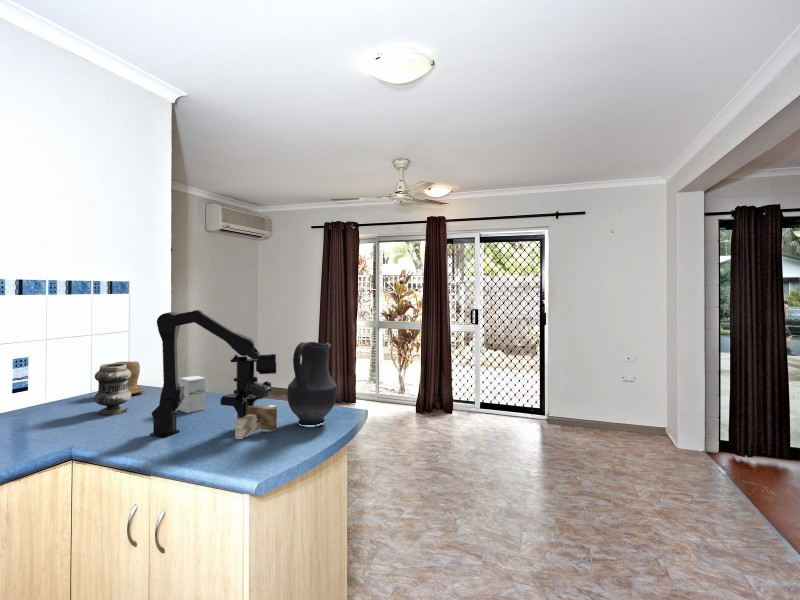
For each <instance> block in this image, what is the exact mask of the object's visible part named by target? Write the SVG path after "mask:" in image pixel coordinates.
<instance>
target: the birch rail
mask: <svg viewBox="0 0 800 600" xmlns="http://www.w3.org/2000/svg"><path fill="white" fill-rule="evenodd" d="M266 407H271V408H277V405H275V404H274V405H273V404H270V405H268V406H266ZM259 429H261V419H257V415H256V414H249V415H247V416H244V417H242V418H240V419H238V420H237V419H236V420H235V421H234V439H235V438H243V437H245V436H247V435H249V434H251V433H253V432H255V431H257V430H259Z"/></svg>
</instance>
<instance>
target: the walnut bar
mask: <svg viewBox="0 0 800 600" xmlns="http://www.w3.org/2000/svg"><path fill="white" fill-rule="evenodd" d="M277 411H278V408H277V407H276V408H271V407H267V406H259V405H247V406H246V415H245V416H247V415H249V414H256V415H257V419H261V429H262V430H266V431H267V430H268V431H275V430H277V422H278V421H277V418H278V415H277V414H278V412H277ZM236 413H237V412H236ZM236 417H237V418H236V420H238V419H240V417H239V415H238V413H237V414H236Z"/></svg>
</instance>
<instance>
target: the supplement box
mask: <svg viewBox="0 0 800 600" xmlns="http://www.w3.org/2000/svg"><path fill="white" fill-rule="evenodd" d="M206 380H207V377H203V376H199V375H191V376H185V377H178V383H179V385H180V387H181V386H184V396H185V398H184V399H183V401H182V403H181V404H180V406H179V407H178V411H181V412H183V413H187V414H189V413H193V412H194V413H195V412H199V411H203V410H206V403H207V402H206V396H207V395H206V386H207V383H206Z"/></svg>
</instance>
